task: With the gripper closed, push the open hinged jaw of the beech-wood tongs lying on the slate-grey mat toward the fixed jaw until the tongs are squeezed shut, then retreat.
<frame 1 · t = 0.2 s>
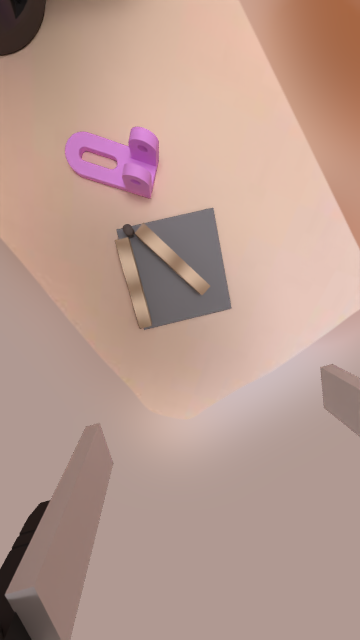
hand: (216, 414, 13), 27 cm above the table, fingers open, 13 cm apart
tongs base: (130, 233, 36), resting on mat
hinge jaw: (173, 261, 35), point 2 cm above the table, hinge at 35.0°
mat: (177, 271, 38), on the table
bracket: (113, 167, 34), on the table
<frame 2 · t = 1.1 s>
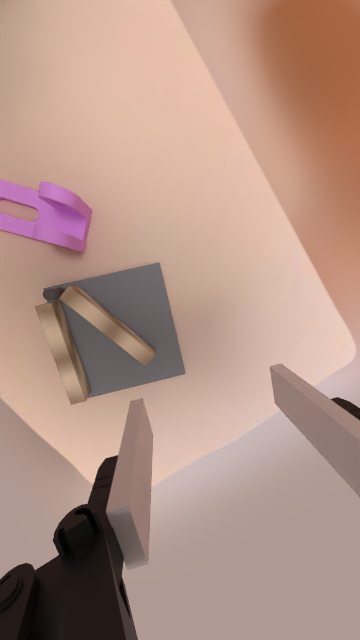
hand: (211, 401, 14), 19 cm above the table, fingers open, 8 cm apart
tongs base: (61, 292, 30), resting on mat
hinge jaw: (111, 326, 30), point 2 cm above the table, hinge at 35.0°
mat: (119, 333, 32), on the table
bracket: (37, 217, 29), on the table
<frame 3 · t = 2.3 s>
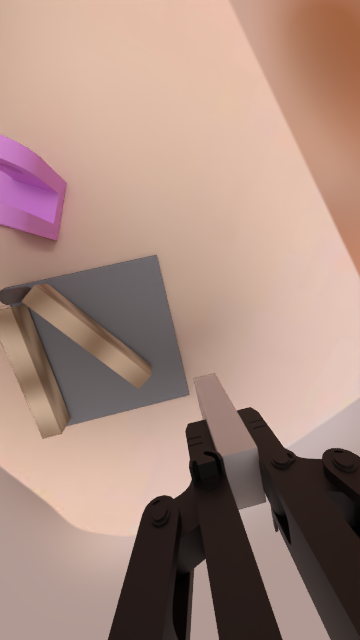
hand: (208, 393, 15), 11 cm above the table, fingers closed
tongs base: (29, 293, 23), resting on mat
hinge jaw: (93, 337, 23), point 2 cm above the table, hinge at 35.0°
mat: (106, 345, 25), on the table
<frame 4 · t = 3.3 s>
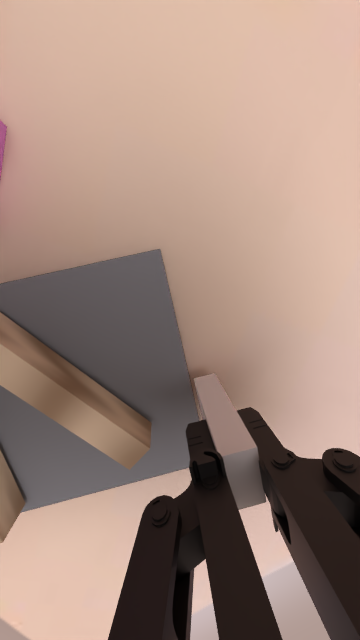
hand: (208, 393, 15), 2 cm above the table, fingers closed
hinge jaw: (55, 385, 14), point 2 cm above the table, hinge at 35.0°
mat: (80, 391, 16), on the table
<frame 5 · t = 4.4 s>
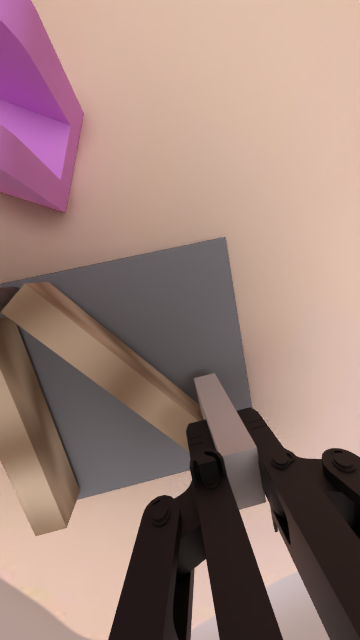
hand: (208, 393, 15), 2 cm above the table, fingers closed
tongs base: (18, 297, 14), resting on mat
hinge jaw: (122, 370, 14), point 2 cm above the table, hinge at 35.0°, touching gripper
mat: (137, 379, 16), on the table
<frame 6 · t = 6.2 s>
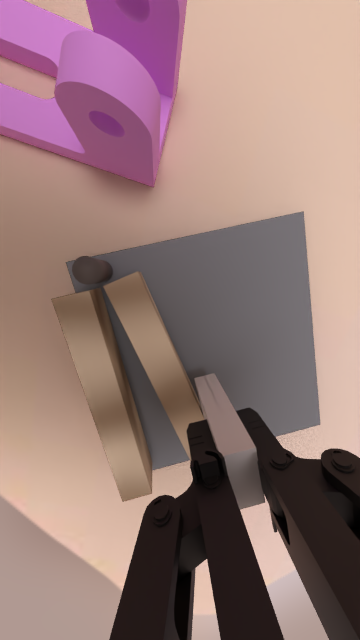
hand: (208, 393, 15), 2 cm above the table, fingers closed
tongs base: (103, 271, 15), resting on mat
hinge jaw: (170, 377, 15), point 2 cm above the table, hinge at 10.5°, touching gripper
mat: (210, 353, 17), on the table
bracket: (56, 101, 13), on the table
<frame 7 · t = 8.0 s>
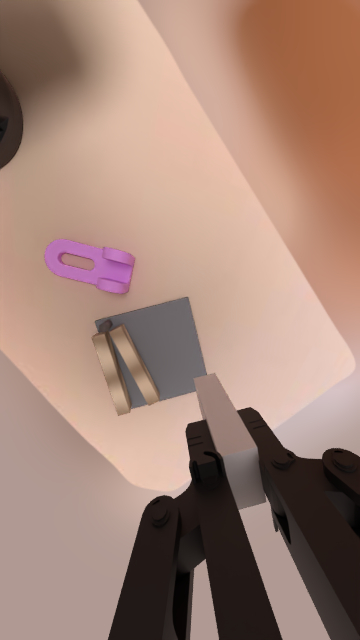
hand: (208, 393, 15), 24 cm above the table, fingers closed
tongs base: (108, 323, 37), resting on mat
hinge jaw: (136, 364, 37), point 2 cm above the table, hinge at 10.4°
mat: (155, 355, 39), on the table
bracket: (91, 265, 36), on the table
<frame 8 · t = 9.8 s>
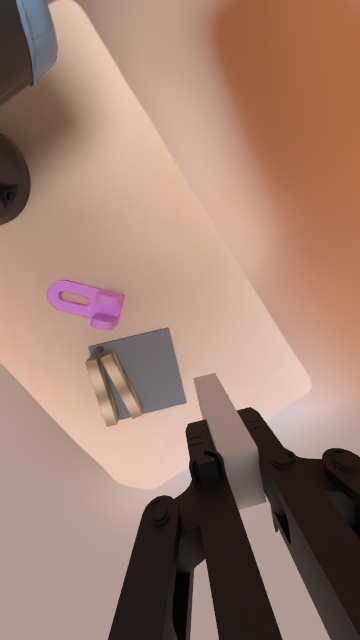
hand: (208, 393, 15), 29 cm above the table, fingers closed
tongs base: (100, 348, 44), resting on mat
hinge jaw: (122, 384, 43), point 2 cm above the table, hinge at 10.4°
mat: (139, 375, 45), on the table
bracket: (87, 300, 42), on the table
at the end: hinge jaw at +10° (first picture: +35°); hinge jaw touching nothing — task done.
